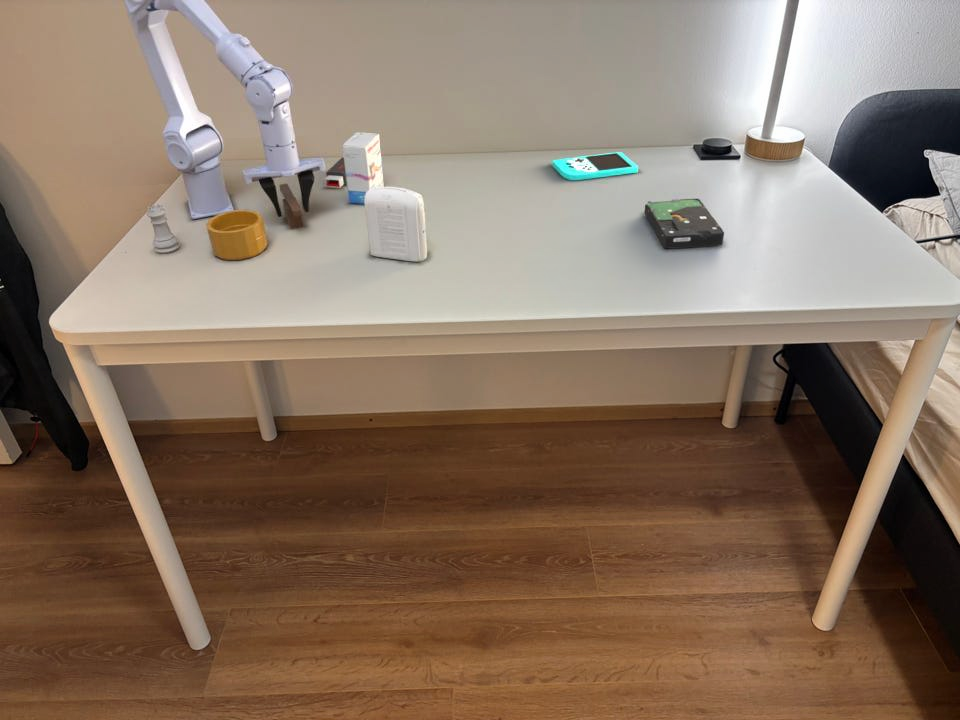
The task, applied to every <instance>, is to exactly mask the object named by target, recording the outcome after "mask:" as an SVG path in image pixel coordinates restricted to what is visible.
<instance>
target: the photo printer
mask: <svg viewBox="0 0 960 720" xmlns="http://www.w3.org/2000/svg"><path fill="white" fill-rule="evenodd" d="M363 205H364V213H365V219H366V220H365V222H366V229H367V238H368V246H369V254H370V255H371V256H373V257H378V258H384V259H393V260H399V261H404V262H405V261H406V262H407V261H408V262H415V263H416V262H417V263H418V262H423V261H425V260H426V259H427V258H428V245H427V230H426V229H427V228H426V218H425V217H426V215H425V203H424V198H423V195H421V194H420V193H418V192H416V191H413V190H411V189H408V188H404V187H398V186H384V187H377V188H372V189H369V191H367V192H366V194H365V201H364V204H363Z"/></svg>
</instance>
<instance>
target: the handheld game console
mask: <svg viewBox="0 0 960 720" xmlns="http://www.w3.org/2000/svg"><path fill="white" fill-rule="evenodd" d="M551 165H552V167H553V168H554V169H555V170H556V172H558V174H559V175H560V176H561V177H562V178H564V179H566V180H569V181H581V180H589V179H598V178H604V177H606V178H607V177H613V176H620V175H627V174H635V173H636V174H637V173H638V172H639V166H638V165H637V164H636V163H634V162H633V161H632V160H631V159H630V158H629V157H627V156H626V154H624V153H623V152H621V151H617V152H609V153H601V154H592V155H585V156H576V157H575V156H574V157H567V158H560V159H553V160H552V164H551Z"/></svg>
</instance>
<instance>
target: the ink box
mask: <svg viewBox="0 0 960 720" xmlns="http://www.w3.org/2000/svg"><path fill="white" fill-rule="evenodd" d="M342 155H343V158H344V164H345V172H346V179H347V185H346V186H347V194H348V203H349V204H358V205H359V204H360V205H365V204H364V201H365V194H366V192H367V191H369V189H372V188H377V187H385V185H384V174H383V162H382V151H381V142H380V134H379V133H372V132H362V131H358V132H357V131H356V132H355V133H353V134H352V135H351V136H350V137H349V138H348V139H347V140H346V141H345V142H343V144H342Z"/></svg>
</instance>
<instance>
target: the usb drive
mask: <svg viewBox="0 0 960 720" xmlns="http://www.w3.org/2000/svg"><path fill="white" fill-rule="evenodd" d="M325 176H326V177H325V178H324V187H325V188H332V189H333V188H335V189H341V188H342V187H343V186H347V179H346V172H345V164H344V157H341V158H339V159H338V161H336V162H335V163H334V164H333V165H332V166H331V167H330V168H329V169H328V170H327V171H325Z"/></svg>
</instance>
